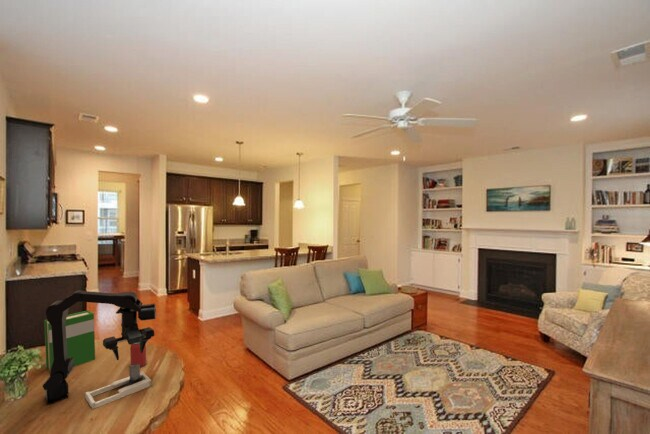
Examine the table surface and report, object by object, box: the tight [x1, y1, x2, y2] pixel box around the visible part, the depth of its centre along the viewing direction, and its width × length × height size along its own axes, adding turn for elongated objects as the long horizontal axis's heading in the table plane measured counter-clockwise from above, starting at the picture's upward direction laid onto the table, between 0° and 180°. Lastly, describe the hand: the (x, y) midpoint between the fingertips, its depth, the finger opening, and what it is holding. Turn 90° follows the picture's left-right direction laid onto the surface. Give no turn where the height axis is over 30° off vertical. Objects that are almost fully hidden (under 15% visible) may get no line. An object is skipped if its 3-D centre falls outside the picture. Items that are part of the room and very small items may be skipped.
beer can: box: [129, 342, 147, 368], centre depth 158 cm, size 7×7×12 cm
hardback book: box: [43, 310, 96, 372], centre depth 158 cm, size 18×7×24 cm, turn 142°
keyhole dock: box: [85, 371, 152, 410], centre depth 136 cm, size 22×11×2 cm, turn 138°
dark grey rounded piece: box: [125, 364, 143, 387], centre depth 140 cm, size 7×7×9 cm
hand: (129, 356), depth 141 cm, fingers open, 9 cm apart
